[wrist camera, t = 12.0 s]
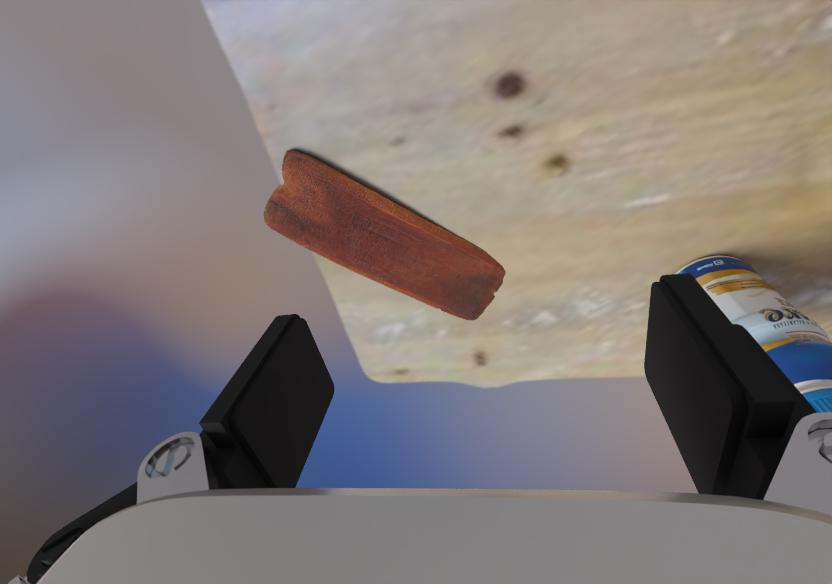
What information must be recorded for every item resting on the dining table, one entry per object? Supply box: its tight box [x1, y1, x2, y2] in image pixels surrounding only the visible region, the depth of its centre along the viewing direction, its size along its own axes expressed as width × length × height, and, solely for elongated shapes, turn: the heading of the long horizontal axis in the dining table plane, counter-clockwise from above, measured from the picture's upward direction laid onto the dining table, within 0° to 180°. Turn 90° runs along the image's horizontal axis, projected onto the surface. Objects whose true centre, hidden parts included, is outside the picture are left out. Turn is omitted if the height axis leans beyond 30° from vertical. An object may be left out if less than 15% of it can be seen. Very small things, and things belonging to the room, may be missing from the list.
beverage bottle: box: [675, 256, 832, 413], centre depth 33 cm, size 8×8×20 cm
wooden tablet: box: [264, 150, 506, 320], centre depth 44 cm, size 27×10×2 cm, turn 63°
